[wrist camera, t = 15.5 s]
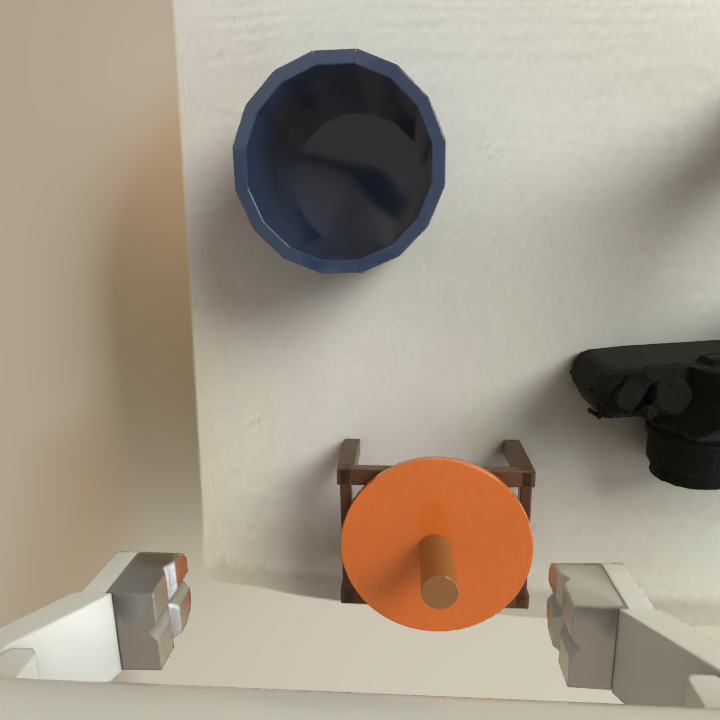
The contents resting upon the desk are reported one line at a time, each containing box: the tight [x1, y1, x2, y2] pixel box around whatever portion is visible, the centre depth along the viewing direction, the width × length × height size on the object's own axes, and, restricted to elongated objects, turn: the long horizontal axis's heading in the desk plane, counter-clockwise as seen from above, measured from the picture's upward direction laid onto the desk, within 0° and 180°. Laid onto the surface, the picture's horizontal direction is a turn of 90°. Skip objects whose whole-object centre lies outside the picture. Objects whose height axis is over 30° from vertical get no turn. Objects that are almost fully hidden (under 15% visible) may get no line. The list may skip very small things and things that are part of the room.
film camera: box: [570, 340, 720, 490], centre depth 40 cm, size 15×10×9 cm, turn 94°
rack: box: [337, 439, 536, 609], centre depth 45 cm, size 14×11×6 cm
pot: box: [233, 49, 446, 273], centre depth 39 cm, size 13×13×8 cm
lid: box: [341, 457, 533, 631], centre depth 39 cm, size 14×14×6 cm
